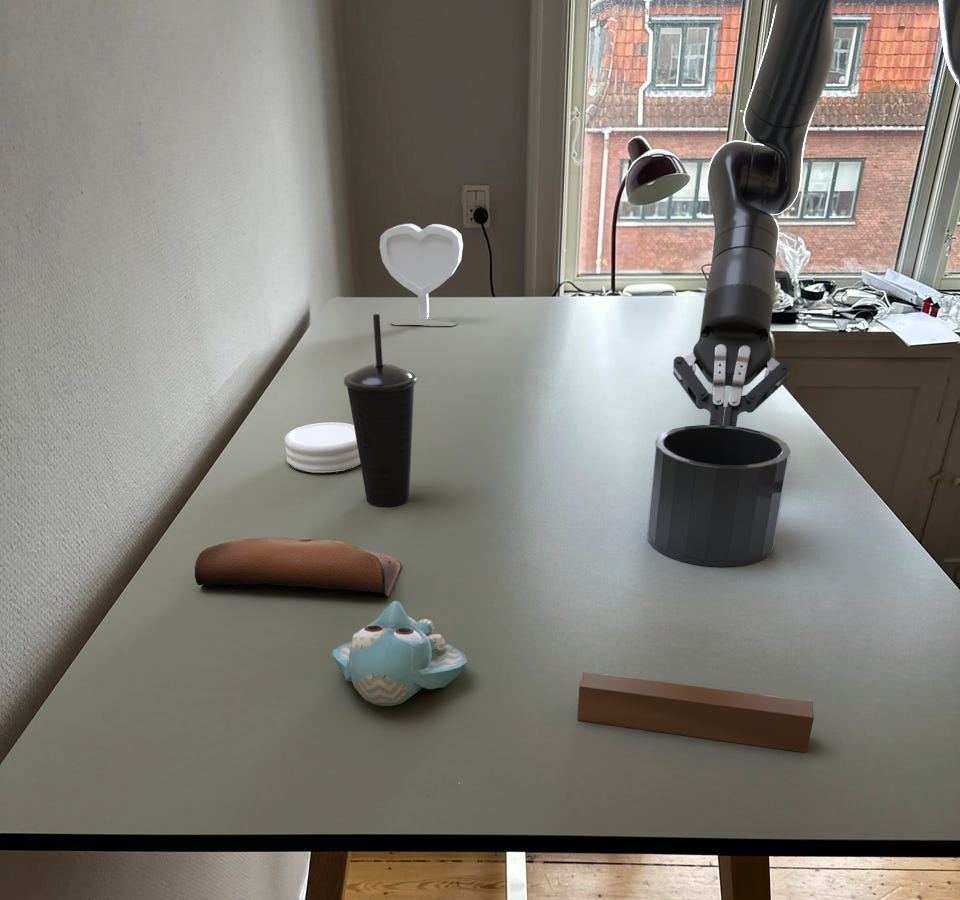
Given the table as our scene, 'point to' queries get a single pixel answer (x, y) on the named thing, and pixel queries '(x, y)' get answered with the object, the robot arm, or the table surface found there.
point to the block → (696, 711)
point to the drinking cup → (383, 426)
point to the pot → (716, 494)
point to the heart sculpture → (421, 258)
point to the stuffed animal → (397, 658)
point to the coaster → (323, 447)
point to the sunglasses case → (297, 564)
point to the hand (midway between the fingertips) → (720, 442)
